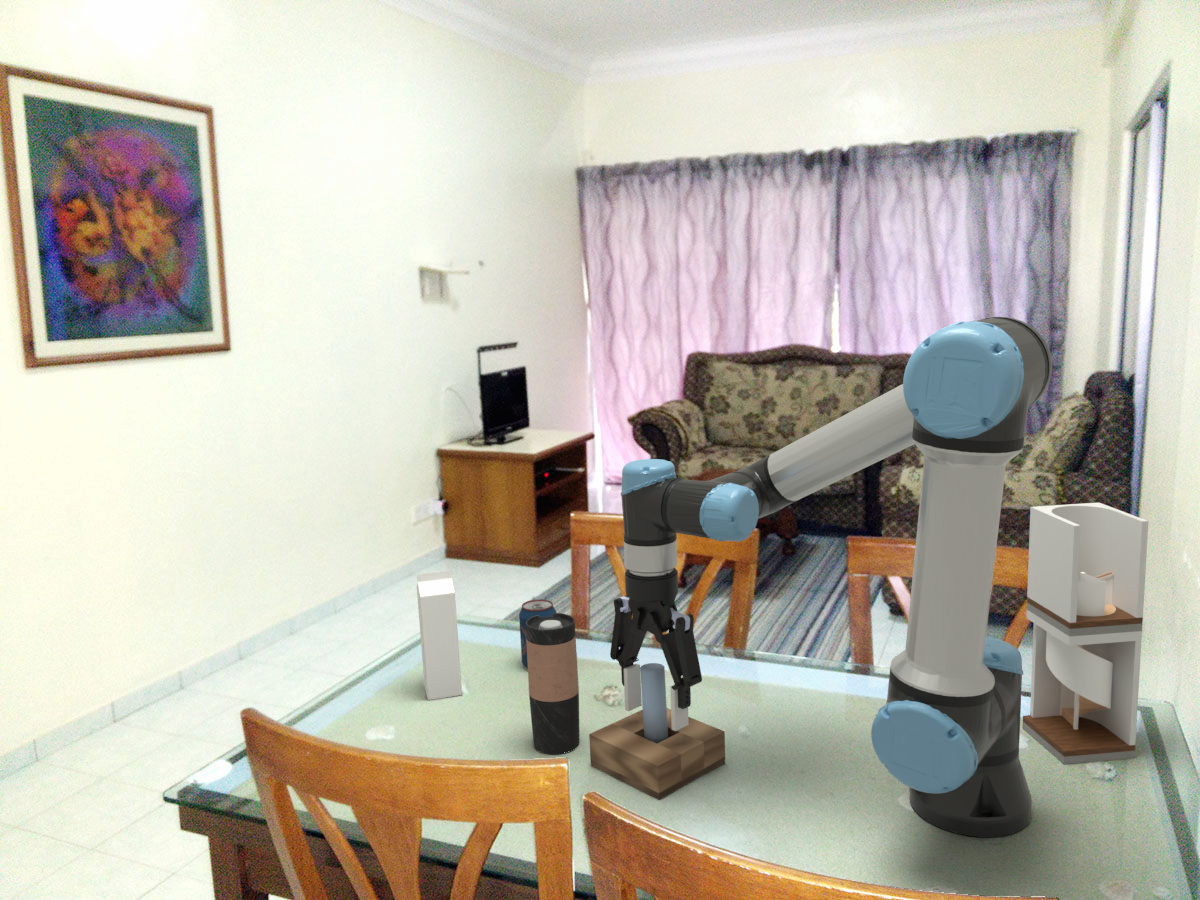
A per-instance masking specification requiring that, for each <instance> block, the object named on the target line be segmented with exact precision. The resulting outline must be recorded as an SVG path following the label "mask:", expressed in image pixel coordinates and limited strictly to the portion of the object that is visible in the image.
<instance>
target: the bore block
mask: <svg viewBox="0 0 1200 900" xmlns="http://www.w3.org/2000/svg"><path fill="white" fill-rule="evenodd" d="M667 725H668V738H667V739H665V740H663V741H661V742H659V743H655V742H652V741H650V740H648V739H646V738H644V724H643V709H641V710H639V711H636V712H634V713H631V714H629V715H627V716H625V717H623V718H621V719H619V720H617V721H615V722H612V723H610V724H608V725H606V726H603V727H602V728H599V729H597V730H595V731H593V732H590V733H589V735H588V736H589V737H588V738H589V755H590V756H589V757H590V766H591V767H593V768H594V769H597V770H599V771H601V772H603V773H605V774H607V775H609V776H610V777H612V778H615V779H617V780H619V781H621V782H623V783H625V784H626V785H628V786H630V787H632V788H635V789H636V790H639V791H640V792H643V793H645V794H646V795H649V796H651V797H652V798H655V799H656V800H658V801H659V800H662V799H664V798H665V797H666V796H668V795H670V794H672V793H674V792H676V791H678V790H680V789H681V788H683V787H685V786H687V785H688V783H689V784H690V783H692V782H694V781H696V780H697V779H699V778H701V777H703V776H704V775H707V774H709V773H710V772H712V771H713V770H715V769H718V768H719V767H720V766H723V765H724V764H726V738H725V737H726V736H725V735H726V734H725V731H724V730H722V729H719V728H717V727H715V726H712V725H711V724H710V725H709V724H707V723H705V722H704V721H703V722H702V721H700V720H697V719H696V718H692V717H690V716H688V725H687V726H685V727H683V728H681V729H679V730H677V731H674V730H672V723H671V708H668V707H667ZM693 780H694V781H693ZM684 785H685V786H684ZM679 788H680V789H679Z"/></svg>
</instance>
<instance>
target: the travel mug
mask: <svg viewBox="0 0 1200 900" xmlns="http://www.w3.org/2000/svg"><path fill="white" fill-rule="evenodd" d="M575 623H576V622H575V618H574V617H573V616H571V615H570V614H566V613H561V612H560V613H559V612H556V613H554V614H553V615H552V616H549V617H540V616H539V615H536V616H533V617H531V618H529V619H528V620H527V621H526V641H527V662H528V669H527V677H528V682H527V683H528V697H529V707H530V708H529V710H530V718H531V730H532V740H533V747H534V749H535V750H536V751H537V752H539V753H541V754H545V755H563V754H567V753H569V752H568V751H570V752H572V751H574V750H575V748H576V747H577V746H579V745H580V688H579V674H578V673H579V672H578V671H579V670H578V669H579V668H578V655H577V654H578V653H577V640H576V639H577V638H576V624H575ZM577 748H578V747H577ZM577 748H576V749H577ZM573 749H574V750H573ZM571 750H572V751H571ZM564 752H565V753H564ZM566 752H567V753H566Z"/></svg>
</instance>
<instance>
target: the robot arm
mask: <svg viewBox="0 0 1200 900" xmlns="http://www.w3.org/2000/svg"><path fill="white" fill-rule="evenodd" d="M1052 371H1053V359H1052V353H1051V351H1050V348H1049V344H1048V343H1047V342H1046V340H1045V338H1044V337H1043V336H1042V334H1041V333H1040V332H1039V331H1038V330H1036V329H1035V328H1034V327H1033V326H1032V325H1031V324H1029V323H1027V322H1025V321H1024V320H1020V319H1017V318H1013V317H1007V316H994V317H992V316H991V317H987V318H983V319H982V318H981V319H977V320H971V321H959V322H955V323H952V324H949V325H947V326H944V327H942V328H941V329H939V330H937V331H935V332H934V333H932V334H931V335H929V336H928V337H927V338H925V339H924V340H923V341H921V343H920V344H918V346H916V348H915V350H913V353H912V354H911V356H910V357H909V359H908V362H907V364H906V366H905V369H904V372H903V373H904V374H903V379H902V384H900V385H898V386H896V387H894V388H893V389H890V390H889V391H886V392H885V393H883V394H881V395H880V396H878V397H876V398H874V399H871V400H870V401H868V402H866V403H864V404H862V405H861V406H859V407H856V408H855V409H853V410H850V411H849V412H848V413H845V414H844V415H842V416H840V417H838V418H836V419H834V420H833V421H831V422H829V423H827V424H825V425H823V426H821V427H819V428H818V429H816V430H814V431H812V432H810V433H808V434H806V435H805V436H802V437H801V438H799V439H797V440H795V441H793V442H792V443H790V444H788V445H787V444H786V445H785V446H784V447H782V448H780V449H778V450H776V451H775V452H772V453H771V454H769V455H766V456H765V457H762V458H760V459H759V460H756V461H755V462H753V463H752V464H749V465H747V466H746V467H743V468H741V469H739V470H736V471H733V472H730V473H726V474H724V475H721V476H719V477H715V478H713V479H709V480H697V479H696V480H695V479H694V480H693V479H685V478H681V477H677V473H676V467H675V464H674V463H673V462H672V461H668V460H666V459H659V458H647V459H646V458H645V459H636V460H633V461H629V462H628V463H626V464H625V465H623V468H622V470H621V471H622V472H621V492H620V496H621V506H622V518H623V519H622V521H623V522H622V523H623V530H624V531H623V558H624V559H623V561H624V562H623V564H624V565H623V566H624V567H625V568H626V570H625V572H624V583H625V594H626V595H622V596H619V597H618V598H615V599H613V607H614V608H613V609H614V621H613V629H612V635H611V636H612V638H611V643H610V644H611V645H610V651H609V652H610V655H609V657H610V658H611V659H612V661H613V660H614V661H615V660H616V661H617V662H618V665H619V667H621V668H620V669H621V670H620V671H621V685H622V686H623V688H624V689H623V690H624V709H625V711H627V712H631V711H633V710H635V709H637V708H639V707H643V706H642V689H641V671H640V667H641V664H639V663H636V662H639V661H640V659H638V656H639V653H640V651H641V648H642V646H643V643H644V641H645V640H644V639H645V638H646V634H647V632H649V633H651V634H652V635H653V636H654V639H655V640H656V642H657V643H659V645H660V647H661V650H662V653H663V655H664V659H665V661H666V663H667V667H668V669H669V672H670V676H671V678H672V680H673V683H674V684H672V685H670V688H669V689H670V690H669V691H670V709H671V723H672V730H674V731H677V730H679V729H681V728H683V727H685V726H687V725H688V717H689V707H691V704H692V697H691V696H692V693H691V687H693V686H695V685H698V684H700V683H702V680H703V676H702V670H701V665H700V660H699V655H698V650H697V644H696V640H695V635H694V622H695V621H694V620H695V617H694V615H693V614H692V613H688V614H683V613H681V612H680V611H678V608H677V606H676V598H677V595H678V593H679V572H678V570H677V569H676V567H677V566H678V549H677V548H678V547H677V546H678V545H677V544H678V543H677V542H678V540H677V535H678V534H680V535H686V536H691V537H700V538H705V539H711V540H714V541H718V542H742V541H745V540H747V539H749V537H751V535H752V532H754V530H755V529H756V528H757V524H758V520H759V519H762V518H764V517H766V516H769V515H773V514H775V513H777V512H780V511H781V510H782V509H784V508H786V507H787V506H789V505H791V504H793V503H795V502H797V501H799V500H801V499H803V498H805V497H808V496H810V495H811V494H813V493H815V492H818V491H820V490H822V489H824V488H826V487H828V486H830V485H832V484H835V483H836V482H839V481H841V480H844V479H845V478H847V477H849V476H851V475H853V474H855V473H857V472H860V471H861V470H863V469H865V468H868V467H870V466H872V465H874V464H877V463H878V462H880V461H882V460H884V459H887V458H889V457H891V456H892V455H895V454H897V453H899V452H901V451H903V450H906V449H907V448H911V446H914V445H915V446H916V448H918V449H919V450H920V452H921V453H922V454H923V466H922V467H923V468H922V477H921V487H920V495H919V497H920V498H919V509H918V518H917V525H916V526H917V528H916V537H915V548H914V549H915V550H914V559H913V567H912V568H913V570H912V578H911V579H912V580H911V591H910V601H909V607H908V608H909V610H908V618H907V619H908V621H907V629H906V639H905V649H904V650H903V651H901V652H900V653H897V655H895V656H894V657H893V658H892V659H891V661H890V666H889V667H890V668H889V676H888V685H887V697H886V703H885V704H884V705H883V706H881V707H880V708H879V709H878V712H877V713H876V714H875V717H874V719H873V722H872V725H871V731H870V738H871V743H872V746H873V750H874V753H875V755H876V756H877V759H878V761H879V762H880V763H881V764H882V765H884V767H885V768H886V769H887V771H888V773H889V774H890V775H891V776H892V777H893V778H895V779H896V780H897V781H899V783H902V784H903V785H905V786H907V787H908V788H909V802H910V805H911V808H912V809H913V810H914V812H915V813H916V814H917V815H918V816H920V817H921V818H922V819H923V820H925V821H926V822H928V823H930V824H932V825H934V826H936V827H938V828H940V829H943V830H946V831H949V832H951V833H955V834H959V835H963V836H970V837H978V838H980V837H981V838H993V837H994V838H995V837H996V838H997V837H1004V836H1008V835H1012V834H1016V833H1017V832H1020V831H1022V830H1023V829H1025V828H1026V827H1027V826H1028V825H1029V824H1030V822H1031V820H1032V815H1033V814H1032V812H1033V810H1032V804H1033V799H1032V795H1031V791H1030V788H1029V785H1028V782H1027V779H1026V775H1025V772H1024V770H1023V766H1022V764H1021V763H1022V762H1021V761H1020V737H1021V735H1020V734H1021V731H1020V730H1021V713H1022V712H1021V707H1022V683H1023V681H1022V680H1023V675H1024V670H1023V657H1022V654H1021V652H1020V650H1019V649H1018V648H1017V647H1015V646H1014V645H1013V644H1011V643H1009V642H1006V641H1004V640H1002V639H998V638H995V637H990V636H987V630H988V621H989V614H990V613H989V612H990V605H991V596H992V588H993V580H994V579H993V577H994V573H995V572H994V570H995V561H996V554H997V545H998V544H997V543H998V536H999V526H1000V519H1001V509H1002V502H1003V494H1004V493H1003V492H1004V485H1005V476H1006V468H1007V464H1008V463H1009V462H1010V461H1011V460H1012V459H1014V458H1015V457H1017V456H1018V455H1019V454H1020V453H1022V452H1023V450H1024V444H1025V437H1026V429H1027V420H1028V412H1029V408H1031V407H1032V406H1033V405H1034V404H1035V403H1036V402H1037V401H1039V400H1040V399H1041V398H1042V396H1043V394H1044V393H1045V391H1046V390H1047V389H1048V386H1049V384H1050V381H1051V377H1052V375H1053V374H1052V373H1053V372H1052ZM666 632H667V633H666ZM663 633H664V634H663Z"/></svg>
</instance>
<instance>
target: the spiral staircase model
mask: <svg viewBox="0 0 1200 900" xmlns="http://www.w3.org/2000/svg"><path fill="white" fill-rule="evenodd" d="M1029 510H1030V512H1029V513H1030V514H1029V536H1028V537H1029V538H1028V541H1029V542H1028V568H1027V589H1026V591H1027V593H1026V597H1027V598H1026V615H1025V616H1026V619H1027V620H1029V621H1030V622H1031V623H1033V625H1032V626H1033V628H1032V629H1033V630H1032V631H1033V633H1032V634H1033V635H1032V655H1031V657H1032V659H1031V682H1030V684H1031V685H1030V705H1029V706H1030V709H1029V710H1030V713H1029V714H1030V715H1029V714H1028V715H1022V726H1021V727H1022V729H1023V730H1024V732H1026V733H1027V734H1028V735H1030V737H1032V738H1033V739H1034V740H1035V741H1037V743H1038V744H1040V745H1041V746H1042V747H1043V748H1044V749H1045V750H1046V751H1048V753H1051V754H1050V755H1052V756H1053V757H1054V758H1056V759H1057V760H1058V761H1059V762H1060V763H1062V764H1063V765H1070V764H1071V765H1073V764H1074V765H1075V764H1082V763H1083V764H1084V763H1097V762H1106V761H1117V760H1130V759H1135V756H1136V740H1137V739H1136V738H1137V725H1138V724H1137V722H1138V709H1139V708H1138V707H1139V706H1138V705H1139V690H1140V688H1139V687H1140V672H1141V657H1142V656H1141V655H1142V654H1141V653H1142V639H1143V638H1142V637H1143V636H1142V635H1143V623H1144V622H1143V619H1144V603H1145V588H1146V587H1145V586H1146V570H1147V569H1146V567H1147V550H1148V537H1149V535H1148V534H1149V520H1147V519H1144V518H1142V517H1139V516H1136V515H1134V514H1131V513H1128V512H1126V511H1122V510H1120V509H1118V508H1115V507H1112V506H1110V505H1107V504H1104V503H1101V502H1087V503H1085V502H1084V503H1071V504H1056V505H1055V504H1054V505H1039V506H1037V505H1036V506H1030V509H1029Z"/></svg>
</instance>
